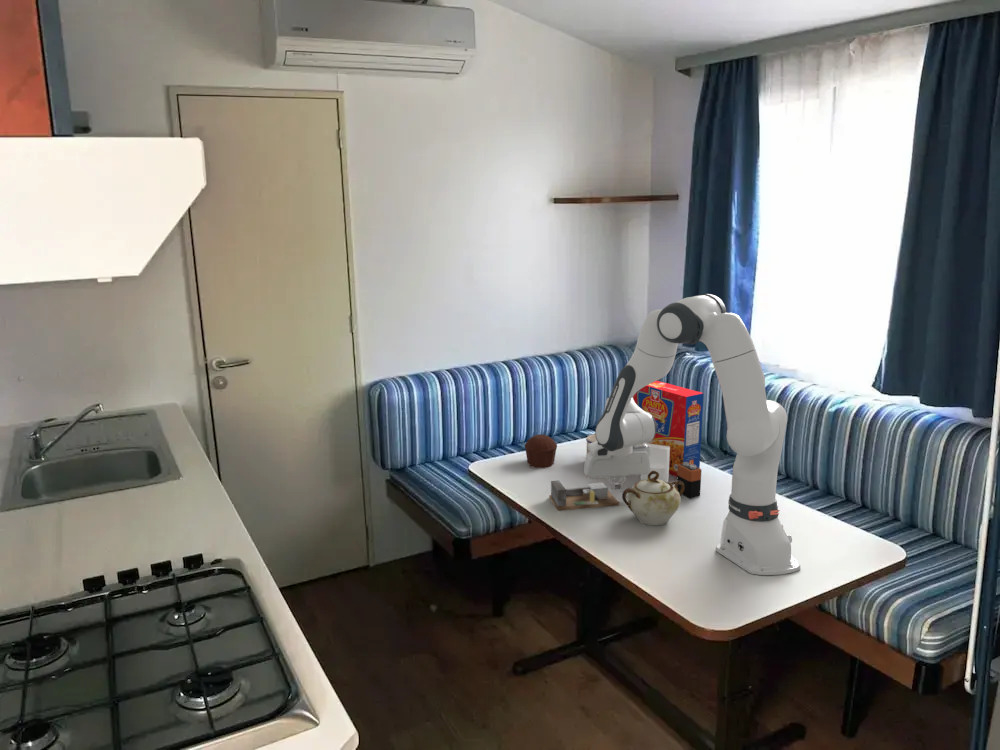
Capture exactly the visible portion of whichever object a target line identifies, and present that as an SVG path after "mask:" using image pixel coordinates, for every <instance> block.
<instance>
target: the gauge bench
mask: <svg viewBox="0 0 1000 750" xmlns="http://www.w3.org/2000/svg"><path fill="white" fill-rule="evenodd" d="M584 489H587V486H586V487H585V486H584V487H574V488H573V487H572V488H566V487H565V486H564V485H563V483H562V482H561V481H560V480H550V494H549V495H548V496H549V500H550V501H551V503H552V504H553V506H554V507H555V509H556V510H557V511H569V510H580V509H582V510H583V509H593V508H605V507H615V506H617V507H618V506H619V505H620V502H619V500H618V499H616V496H614V495H613V494H612V493H611V491H610V490H609V489H608V493H607V499H601V500H594V502H591V501H590V498H589V497H588V495H584V496H583V494H582V490H584Z"/></svg>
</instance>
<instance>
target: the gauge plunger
mask: <svg viewBox="0 0 1000 750" xmlns="http://www.w3.org/2000/svg"><path fill="white" fill-rule="evenodd" d="M586 487H587V489H584V490H582V494H583V496H584V495H588V497H589V498H590V491H594V492H595V495H594V500H601V499H607V493H608V490H609V488H608V487H607V485H606V484H605V483H604V482H595V483H587V486H586Z"/></svg>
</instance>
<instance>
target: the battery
mask: <svg viewBox="0 0 1000 750" xmlns="http://www.w3.org/2000/svg"><path fill="white" fill-rule="evenodd" d="M676 481H682V482H683V483H684V485H685V489H684V492H683V493H682V495H681V496H684V497H686V498H687V499H696V498H699V497H700V496H701V485H702V483H701V482H702V468H698V467H696V465H693V464H690V463H688V462H684V464H679V465H678V470H677V477H676ZM677 488H678V492H680V490H681V485H680V484H678V486H677Z"/></svg>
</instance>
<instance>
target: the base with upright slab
mask: <svg viewBox="0 0 1000 750" xmlns="http://www.w3.org/2000/svg"><path fill="white" fill-rule="evenodd" d="M643 444H646V445H647V446H649V447H650V456H649V460H650V472H651V471H656V472H658V473H659V478H658V480H662V481H666V482H668V483H669V479H670V478H669V477H670V474H669V456H670V447H669V446H662V445H655V444H648V443H643ZM650 472H649V473H650ZM649 473H648V474H649ZM648 474H643V475H639V479H640V480H639V481H642V480H647V479H648ZM655 476H656V474H652V475H651V477H650V478H651V479H652V478H654V477H655Z"/></svg>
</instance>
